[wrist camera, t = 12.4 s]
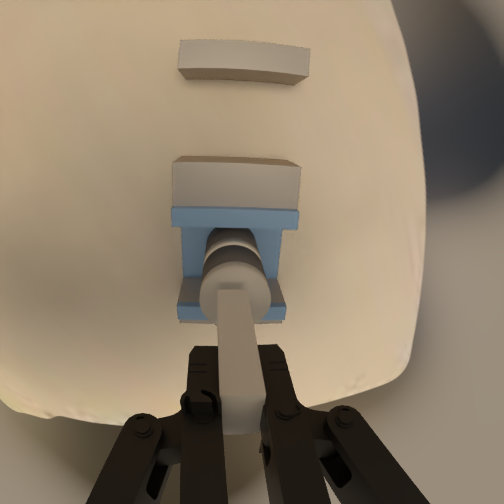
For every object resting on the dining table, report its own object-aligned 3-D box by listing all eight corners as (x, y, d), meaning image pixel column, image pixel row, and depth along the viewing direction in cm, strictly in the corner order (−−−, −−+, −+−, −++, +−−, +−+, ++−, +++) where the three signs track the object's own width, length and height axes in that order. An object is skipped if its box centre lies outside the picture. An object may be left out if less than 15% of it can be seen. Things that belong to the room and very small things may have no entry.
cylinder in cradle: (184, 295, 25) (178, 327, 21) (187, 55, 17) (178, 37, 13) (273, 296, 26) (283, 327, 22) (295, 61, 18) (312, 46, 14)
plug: (206, 267, 24) (200, 328, 16) (206, 221, 22) (198, 269, 15) (254, 268, 24) (267, 328, 17) (257, 222, 22) (274, 270, 15)
